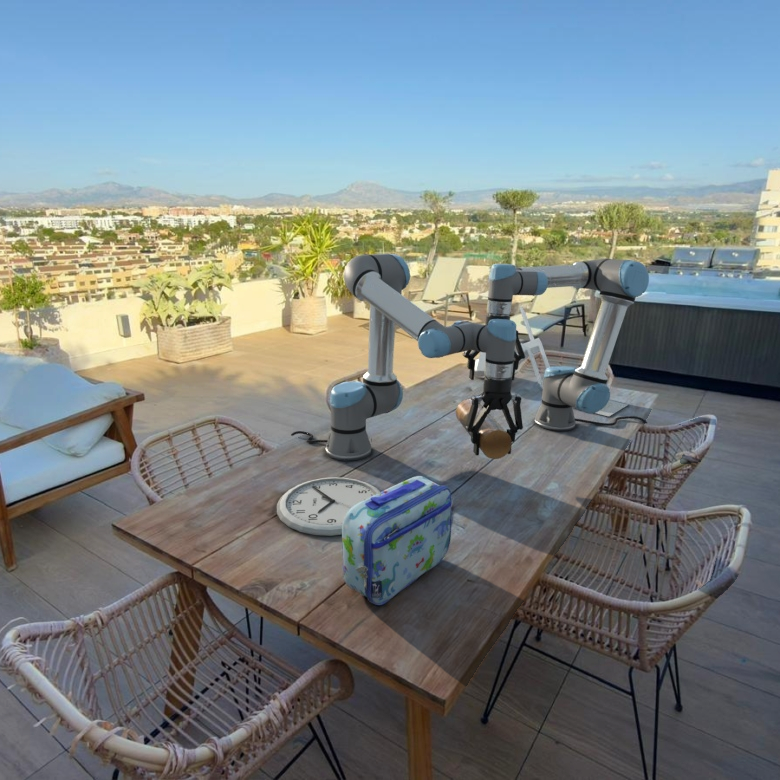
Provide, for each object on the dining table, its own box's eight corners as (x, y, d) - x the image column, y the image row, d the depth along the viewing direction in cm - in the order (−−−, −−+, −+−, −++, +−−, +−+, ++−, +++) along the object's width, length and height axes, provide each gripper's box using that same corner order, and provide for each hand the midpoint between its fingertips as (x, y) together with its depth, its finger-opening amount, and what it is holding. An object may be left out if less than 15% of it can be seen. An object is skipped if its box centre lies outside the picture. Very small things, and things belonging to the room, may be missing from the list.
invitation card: (608, 416, 214) (573, 407, 224) (608, 416, 214) (573, 408, 224) (628, 404, 229) (594, 396, 238) (628, 405, 229) (594, 397, 238)
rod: (455, 424, 172) (456, 399, 169) (480, 423, 173) (482, 398, 170) (480, 459, 146) (482, 430, 143) (510, 458, 147) (513, 429, 144)
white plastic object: (489, 418, 267) (470, 395, 242) (471, 346, 289) (451, 318, 264) (561, 394, 254) (547, 368, 230) (535, 321, 277) (521, 289, 252)
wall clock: (392, 527, 129) (268, 531, 127) (391, 533, 130) (269, 537, 127) (383, 473, 158) (282, 475, 155) (383, 478, 158) (282, 480, 156)
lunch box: (371, 618, 102) (371, 524, 95) (336, 591, 109) (334, 502, 103) (455, 562, 119) (460, 479, 113) (420, 542, 126) (423, 463, 120)
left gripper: (463, 381, 137) (458, 460, 144) (541, 379, 140) (532, 456, 147) (456, 373, 144) (451, 449, 151) (530, 372, 148) (522, 445, 154)
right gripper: (463, 315, 160) (457, 381, 166) (540, 317, 163) (532, 382, 169) (456, 311, 167) (451, 375, 173) (531, 313, 170) (523, 376, 176)
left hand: (491, 452), depth 149 cm, fingers closed on rod, 9 cm apart
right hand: (491, 379), depth 171 cm, fingers open, 13 cm apart
